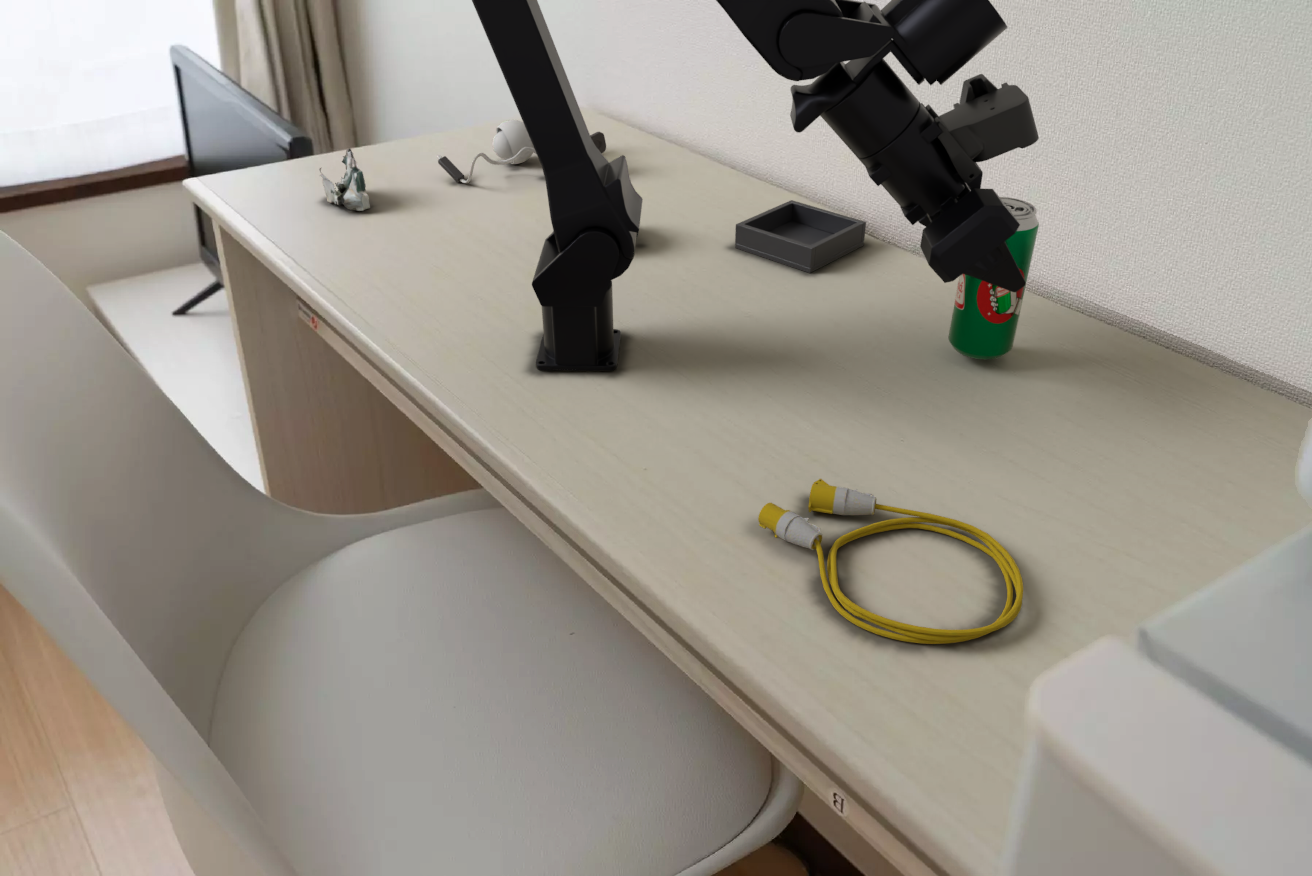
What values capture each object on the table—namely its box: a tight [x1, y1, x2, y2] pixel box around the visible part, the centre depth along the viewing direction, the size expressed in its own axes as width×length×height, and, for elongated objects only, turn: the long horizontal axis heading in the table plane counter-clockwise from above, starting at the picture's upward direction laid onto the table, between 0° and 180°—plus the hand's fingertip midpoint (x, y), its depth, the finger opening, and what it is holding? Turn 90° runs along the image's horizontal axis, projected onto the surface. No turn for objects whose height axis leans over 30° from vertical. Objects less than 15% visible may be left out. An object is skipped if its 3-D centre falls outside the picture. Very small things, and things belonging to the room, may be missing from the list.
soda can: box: [947, 196, 1040, 361], centre depth 83 cm, size 5×5×12 cm
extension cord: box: [757, 478, 1024, 645], centre depth 64 cm, size 12×16×2 cm
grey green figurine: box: [318, 147, 371, 212], centre depth 115 cm, size 4×8×7 cm, turn 31°
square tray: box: [734, 199, 867, 274], centre depth 106 cm, size 9×9×2 cm
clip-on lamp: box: [436, 119, 607, 184], centre depth 124 cm, size 12×6×18 cm
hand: (1011, 273), depth 83 cm, fingers closed on soda can, 5 cm apart
